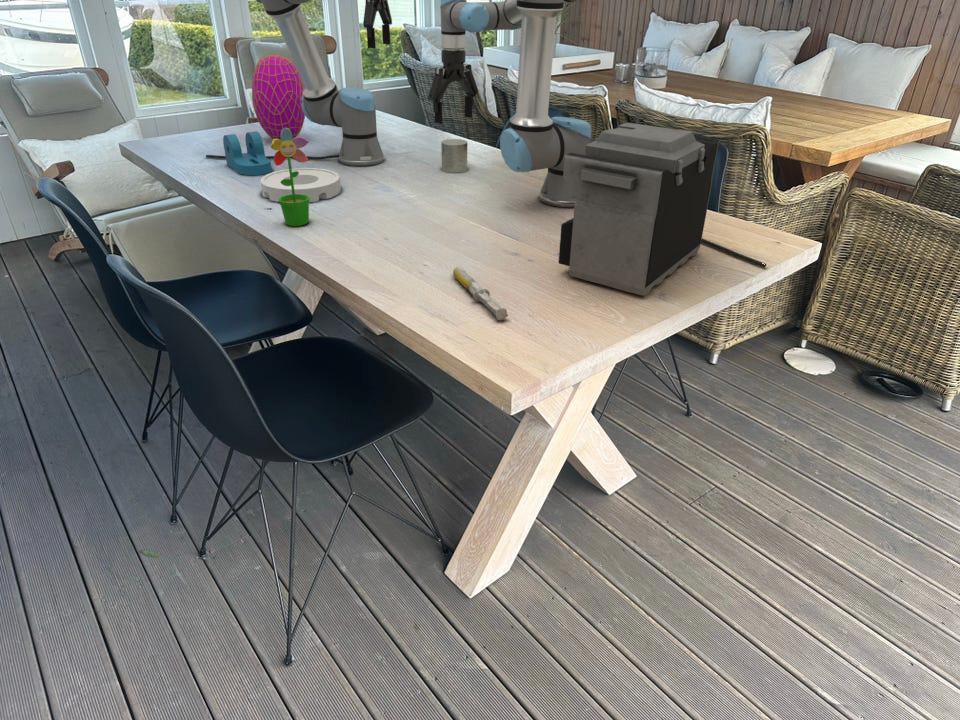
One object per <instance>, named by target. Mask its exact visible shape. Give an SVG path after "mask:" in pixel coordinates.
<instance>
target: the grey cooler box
mask: <svg viewBox="0 0 960 720" xmlns="http://www.w3.org/2000/svg"><path fill="white" fill-rule="evenodd" d="M719 144H720V143H719V141H715V140H708V139H701V138H697V137H695V134H694V132H693V131H689V130H681V129H675V128H668V127H661V126H654V125H649V124H640V123H633V122H624V123H622V124H619V125H618V126H617V127H616V128H609V129H606V130H604V131H601V132H600V134H599V135H598V136H597V138H596V139H595V140H594V141H591V143H590V144H587V145H586V148H585V155H580V154H575V153H569V154H567V155H565V159H564V173H563V178H564V179H565V181H566V183H567V184H568V186H569V188H570V189H571V191H572V193H573V195H574V196H575V198H576V201H575V206H574V207H573V217H572V218H570V219H568V220H567V221H565V222H563V223H561V226H560V239H559V251H558V264H559V265H563V266H566V267H568V268H569V269H568V274H569V276H570V277H574V278H577V279H580V280H584V281H588V282H591V283H595V284H598V285H602V286H606V287H609V288H613V289H617V290H619V291H624V292H627V293H631V294H634V295H638V296H643V297H644V296H647V295H648V294H649V293H650V292H651V290H652V289H653V288H654V287H655V286H659V285H660V284H661V283H662V282H663V281H664V279H665V278H666V277H667V276H671V275H672V274H673V273H675V272H676V270H677V269H678V267H679V266H680V267H681V266H683V265H684V264H686V263H687V261H688V260H689V258H693V257H694V256H695V255H696V254H697V253H698V252H699V251H700V248H701V244H702V242H701V240H702V239H703V235H704V228H705V222H706V218H707V212H708V208H709V203H710V202H709V201H710V196H711V191H712V186H713V185H712V184H713V177H714V171H715V165H716V160H717V154H718V148H719Z"/></svg>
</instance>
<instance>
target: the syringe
mask: <svg viewBox="0 0 960 720" xmlns="http://www.w3.org/2000/svg"><path fill="white" fill-rule="evenodd" d="M452 274H453V277H454V279H455V280H457V281H458V282H459V283H460V285H462V287H464V289H466V290H467V291H468V293H470V295H471V296H472V298H473V300H474V302H477V303H478V302H480V303H482V304H483V305H484V306H485V307H486V308H487V309H488V310H489V311H490V312H491V313H492V314H493V315H494V316H495V317H496V320H497V321H503V320H504V319H506V318H507V317H509V314H508V310H507V308H506V307H502V306H501V305H500V303H498V302H497V301H496V300H494V299H493V298H492V297H491V296H490V295H491V293H490V290H488V289H486V288H483V287H482V286H481V285H480V284H479V283H478V282H477V281H476V280H474V278H473V277H471V275H469V274H468V273H467V272H466V270H465V269H464V268H463V267H462V266H456V267H454V268H453V271H452Z"/></svg>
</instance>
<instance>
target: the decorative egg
mask: <svg viewBox="0 0 960 720" xmlns="http://www.w3.org/2000/svg"><path fill="white" fill-rule="evenodd" d="M253 70H254V71H253V73H252V77H251V101H252V107H253V110H254V114H255V116H256V118H257V121H258V123H259V125H260V127H261V128H262V130H263V131H264V133H266V135H267V136H268V137H270V138H271V139H272V140H273V139H279V140H281V136H280V134H281V131H282V130H283V129H284V128H288V129H289V130H290V131H291V134H292V139H293V138H295V137H298V136H299V134H301V131H302V129H303V127H304V123H305V118H306V116H305V114H304V113H303V110H302V106H301V103H302V101H301V99H302V95H303V93H302V90H303V88H304V85H303V82H302V80H301V78H300V76H299V73H298V71H297V69H296V67H295V64H294V62H293V61H292V60H290V59H288V58H287V57H285V56H282V55H280V54H268V55H265V56H262V57H261V58H260V59H259V60H258V61H257V62H256V65H255V68H254V69H253ZM281 141H282V140H281Z"/></svg>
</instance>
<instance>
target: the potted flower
mask: <svg viewBox="0 0 960 720" xmlns="http://www.w3.org/2000/svg"><path fill="white" fill-rule="evenodd" d="M280 136H281V140H282V141H281V140H279V139H273V138H272V141H271V145H270V148H271V149H272V150H274V151H275V153H274V155H273V156H274V158H273V159H272V160H273V163H274V165H275V167H277V166H282V164H283V163H285V161H286V159H287V164H288V165H287V166H288V169H289V173H290V179H283V180H282V181H281V184H282V185H284V186H291V188H292V194H290V195H285V196H282V197H280V198H279V202H278V203H279V205H280V207H281V210H282V215H283V219H284V223H285V225H287V226H290V227H291V226H292V227H301V226H304V225H306V224H309V222H310V206H309V205H310V202H309V196H307V195H304V194H295V191H294V183H293V178H294V177H296V176H297V175H298V174H299V172H297V171H294V172H292V169H293V168H292V162H291V161H292V160H291V159H293V160H294V161H296V162H297V163H307V162H309V159H308V158H307V156H308V155H306V153H305V152H303V150H301V148H303V147H305V146H306V145H308V144H309V143H310V140H308V139H307V138H306V137H303V136H299V135H298V136H296V137H295V138H293V139H292V134H291V131H290V130H289V129H288V128H284V129H283V130H282V131H281V134H280ZM286 157H287V158H286ZM290 157H292V158H290Z"/></svg>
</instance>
